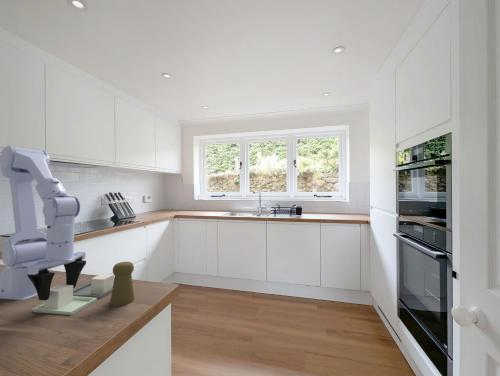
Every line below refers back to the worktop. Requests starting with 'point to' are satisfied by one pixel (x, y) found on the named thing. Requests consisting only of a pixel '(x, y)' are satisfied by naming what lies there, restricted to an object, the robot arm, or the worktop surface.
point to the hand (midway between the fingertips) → (58, 293)
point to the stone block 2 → (101, 284)
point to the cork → (122, 284)
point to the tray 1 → (68, 306)
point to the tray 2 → (88, 292)
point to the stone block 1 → (59, 297)
